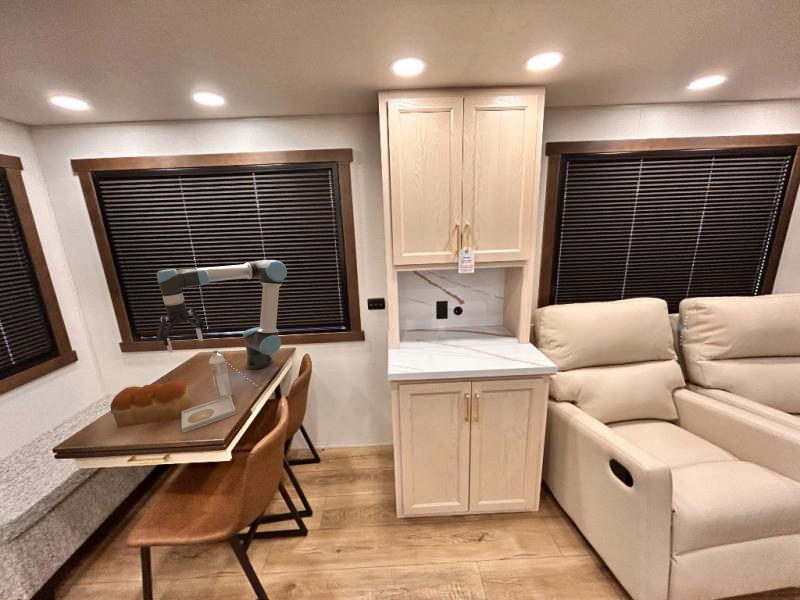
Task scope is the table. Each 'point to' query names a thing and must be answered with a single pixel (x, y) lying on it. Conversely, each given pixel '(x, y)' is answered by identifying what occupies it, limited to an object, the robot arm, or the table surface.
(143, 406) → the bread
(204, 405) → the tray
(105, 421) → the table surface
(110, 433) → the table surface
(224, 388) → the water bottle
